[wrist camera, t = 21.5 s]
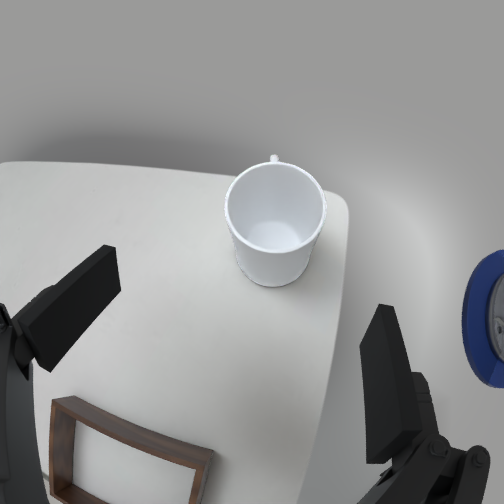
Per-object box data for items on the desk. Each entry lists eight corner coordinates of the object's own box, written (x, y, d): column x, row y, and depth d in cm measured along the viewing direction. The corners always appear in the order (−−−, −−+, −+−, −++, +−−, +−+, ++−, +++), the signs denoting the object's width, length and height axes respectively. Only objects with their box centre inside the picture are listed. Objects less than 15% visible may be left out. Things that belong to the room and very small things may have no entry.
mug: (244, 190, 37) (235, 127, 25) (312, 196, 36) (329, 136, 25) (231, 282, 33) (212, 250, 22) (307, 290, 33) (328, 262, 21)
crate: (191, 539, 23) (183, 558, 19) (68, 484, 25) (49, 494, 21) (213, 450, 28) (204, 466, 23) (74, 395, 30) (51, 399, 25)
